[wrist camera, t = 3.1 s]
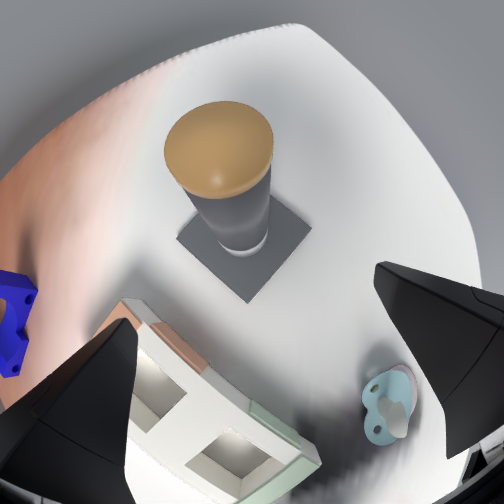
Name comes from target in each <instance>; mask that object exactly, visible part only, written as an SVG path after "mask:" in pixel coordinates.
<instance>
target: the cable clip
mask: <svg viewBox="0 0 504 504" xmlns="http://www.w3.org/2000/svg"><path fill="white" fill-rule="evenodd" d="M37 292H38V290H37V288H36V287H35V286H34V285H33V283H32V282H31V281H30V279H29V278H28V277H27V276H26V275H22V274H17V273H13V272H8V271H4V270H0V298H2V299H5V300H6V312H5V316H4V319H3V321H2V323H1V325H0V373H1V375H2V376H3V378H7V377H13V376H19V373H20V370H21V366H22V362H23V359H24V355H25V352H26V349H27V346H28V342H29V339H28V338H27V337H26V335H25V334H24V333H23V330H24V327H25V324H26V321H27V319H28V316H29V313H30V310H31V308H32V305H33V302H34V300H35V297H36V295H37Z"/></svg>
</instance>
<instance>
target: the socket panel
mask: <svg viewBox="0 0 504 504" xmlns="http://www.w3.org/2000/svg"><path fill="white" fill-rule="evenodd" d="M123 317H126V318H128V319H129V321H130V322H131V324H132V325H133V327H134V328H135V330H136V331H137V333H138V349H139V348H141V349H142V350H143V351H144V352H145V353H146V354H147V355H148V356H149V357H150V358H151V359H152V360H153V361H154V362H155V363H156V364H157V365H158V366H159V367H160V368H161V369H162V370H163V371H164V372H165V373H166V374H167V375H168V376H169V377H170V378H171V379H172V380H173V381H174V382H176V383H177V384H178V385H179V386H180V387H181V388H182V389H183V390H184V391H185V392H187V393H186V394H185V395H184V396H183V397H182V398H181V399H180V400H179V401H178V402H177V403H176V404H175V405H174V406H173V407H172V408H171V409H170V410H169V411H168V412H167V413H166V414H165V415H164V416H163V417H162V418H161V419H160V418H159V417H158V416H157V415H156V414H155V413H154V412H152V411H151V410H150V409H149V408H148V407H147V406H146V405H145V404H144V403H143V402H142V401H141V400H140V399H139V398H138V397H137V396H136V395H135V394H134V393H132V400H131V407H130V415H129V423H128V432H127V436H128V437H129V438H130V439H131V440H132V441H133V442H134V443H135V444H136V445H138V446H139V447H140V448H141V449H142V450H143V451H144V452H146V453H147V454H148V455H149V456H150V457H152V458H153V459H154V460H155V461H156V462H158V463H159V464H160V465H161V466H163V467H164V468H165V469H167V470H168V471H169V472H171V473H172V474H173V475H175V476H176V477H177V478H179V479H180V480H182V481H183V482H184V483H186V484H187V485H189V486H190V487H192V488H193V489H195V490H196V491H198V492H199V493H201V494H203V495H204V496H206V497H207V498H209V499H211V500H212V501H214V502H216V503H218V504H271V503H272V502H274V501H275V500H277V499H278V498H280V497H281V496H282V495H284V494H285V493H287V492H288V491H289V490H291V489H292V488H294V487H295V486H296V485H298V484H299V483H300V482H301V481H303V480H304V479H305V478H307V477H308V476H309V475H310V474H312V473H313V472H314V471H315V470H316V469H318V468H319V467H320V465H322V462H321V460H320V457H319V455H318V452H317V449H316V447H315V445H314V444H312V443H311V442H309V441H308V440H306V439H305V438H303V437H302V436H300V435H299V434H298V432H297V431H296V430H294V429H293V428H291V427H290V426H288V425H287V424H285V423H284V422H283V421H281V420H280V419H278V418H277V417H276V416H274V415H273V414H271V413H270V412H269V411H267V410H266V409H265V408H263V407H262V406H261V405H259V404H258V403H257V402H255V401H254V400H253V399H252V400H250V399H249V398H247V397H246V396H245V395H244V394H242V393H241V392H240V391H239V390H237V389H236V388H235V387H234V386H232V385H231V384H230V383H229V382H228V381H226V380H225V379H224V378H223V377H222V376H221V375H219V374H218V373H217V372H216V371H215V370H214V369H212V368H211V367H210V366H209V363H208V362H207V361H206V360H205V359H204V358H203V357H201V356H200V355H199V354H198V353H197V352H196V351H195V350H194V349H193V348H192V347H191V346H189V345H188V344H187V343H186V342H185V341H184V340H183V339H182V338H181V337H180V336H179V335H178V334H177V333H176V332H175V331H174V330H173V329H172V328H171V327H170V326H169V325H168V324H167V323H166V322H162V321H161V320H160V319H159V318H158V317H157V316H156V314H155V313H154V312H153V311H152V310H151V309H150V308H149V307H148V306H147V305H146V304H145V303H144V302H143V301H142V300H141V299H131V298H122V299H121V300H120V301H119V302H118V304H117V305H116V306H115V308H114V309H113V310H112V311H111V313H110V314H109V315H108V317H107V318H106V319H105V321H104V322H103V323H102V325H101V326H100V327H99V329H98V330H97V331H96V333H95V334H94V335H93V337H92V338H91V339H93V338H94V337H95V336H96V335H97V334H99V333H100V332H101V331H102V330H103V329H105V328H106V327H107V326H108V325H110V324H111V323H112V322H113V321H115V320H116V319H118V318H123ZM91 339H90V340H91ZM229 427H230V428H231V429H232V430H234V431H235V432H236V433H238V434H239V435H241V436H242V437H243V438H245V439H246V440H248V441H249V442H250V443H252V444H253V445H255V446H256V447H258V448H259V449H261V450H262V451H264V452H265V453H267V454H269V455H270V456H271V457H269V458H268V459H267V460H266V461H265V462H263V463H262V464H261V465H260V466H258V467H257V468H256V469H254V470H253V471H252V472H250V473H249V474H248V475H246V476H245V477H244V478H242V479H241V478H239V477H237V476H236V475H234V474H233V473H231V472H229V471H228V470H226V469H225V468H223V467H222V466H220V465H219V464H217V463H216V462H215V461H213V460H212V459H210V458H209V457H207V456H206V455H205V454H203V453H202V452H201V451H202V450H203V449H205V448H206V447H207V446H208V445H209V444H211V443H212V442H213V441H214V440H215V439H216V438H217V437H219V436H220V435H221V434H222V433H223V432H224V431H225V430H227V429H228V428H229Z"/></svg>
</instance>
